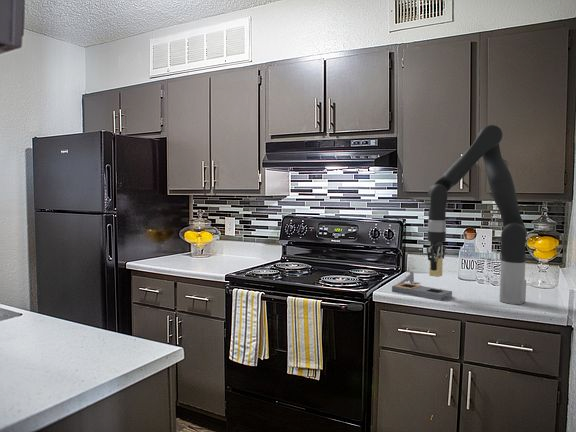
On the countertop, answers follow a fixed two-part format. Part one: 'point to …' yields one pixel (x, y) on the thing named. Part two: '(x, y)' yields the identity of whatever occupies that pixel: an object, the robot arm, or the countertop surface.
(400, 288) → the gray fixture base
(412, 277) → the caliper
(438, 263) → the brass block
